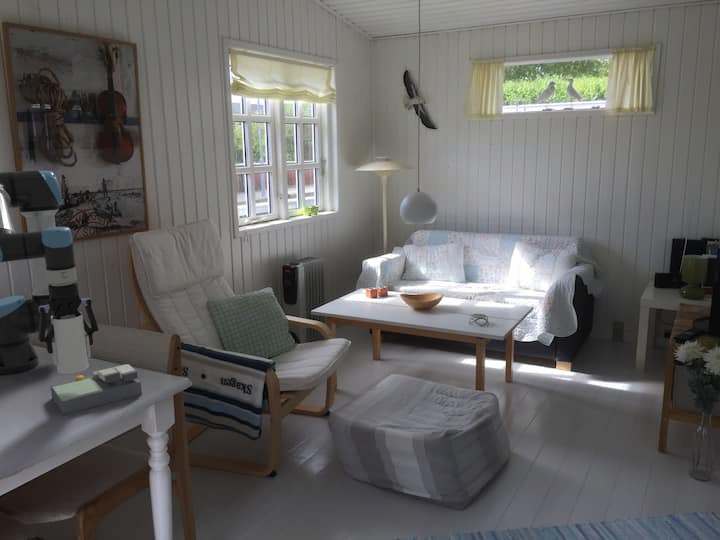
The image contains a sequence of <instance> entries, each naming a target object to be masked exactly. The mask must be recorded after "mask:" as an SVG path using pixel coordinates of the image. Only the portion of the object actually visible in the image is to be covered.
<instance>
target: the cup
mask: <svg viewBox="0 0 720 540" xmlns="http://www.w3.org/2000/svg"><path fill="white" fill-rule="evenodd" d="M79 313H80V314H81V315H80V316H78V317H75V315H74V314H73V315H66V316H61V318H60V320H58V319H52V318H53V316H51V324H53V326H54V337H53V341H54V342H55V345H56V353H57V361H58V364H57V365H56V369H57V370H56V371H57V373H58V374H62V375H72V374H73V375H74V374H78V373H81V372H84V371H86V370H87V369H88V368H89V358H88V356H87V348H86V339H85V333H86V331H85V330H84V322H83V319H84V316H83V313H82V312H81V311H79Z"/></svg>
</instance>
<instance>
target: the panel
mask: <svg viewBox="0 0 720 540" xmlns="http://www.w3.org/2000/svg"><path fill="white" fill-rule="evenodd" d="M109 368H110V367H108V368H104V369H103V368H102V370H105V369H109ZM111 368H113V369H114V370H116V371H117V372H119V373H120V378H121V380H117V381H112V382H108V383H106V382H105V381H103V380H102V379H100V378H99V374H98V371H100V370H101V369H98V370H94V371H92V372H91V373H92V375H90V376H87V377H85V376H84V375H81V374H80V375H77V376H75V379H73V380H69V381H65V382H61V383H56V384H52V385H50V393H51V399H52V400H53V402H54V403H55V404H56V406H57V408H58V409H59V410H60V411H61V413H62V414H63V415H67V414H71V413H76V412H79V411H83V410H87V409H90V408H95V407H99V406H102V405H106V404H109V403H114V402H118V401H121V400H125V399H129V398H133V397H136V396H140V395H142V394H143V391H142V384H141V383H142V382H141V381H140V379H139V378H138V371H137V370H136V369H135V368H133V367H132V365H130V364H127V363H126V364H121V365H117V366H113V367H111Z"/></svg>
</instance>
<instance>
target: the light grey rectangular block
mask: <svg viewBox="0 0 720 540" xmlns="http://www.w3.org/2000/svg"><path fill="white" fill-rule="evenodd" d="M108 368H109V369H107V368H104V369H105V370H103V369H99V370H100V371H99V370H97V371H98V374H99V378H100V379H102V380H103V381H105V382H106V383H108V382H112V381H117V380H121V378H120V373H119V372H117V371H116V370H114V369H113V368H112V367H108Z"/></svg>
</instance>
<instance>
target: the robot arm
mask: <svg viewBox="0 0 720 540" xmlns="http://www.w3.org/2000/svg"><path fill="white" fill-rule="evenodd" d="M62 204H63V197H62V192H61V188H60V185H59V182H58V179H57V176H56V175H55V173H54V172H53V171H51V170H39V169H37V170H24V171H22V170H21V171H20V170H19V171H4V172H3V171H2V172H0V264H1V263H7V262H8V263H9V262H15V261H16V262H17V261H23V260H31V264H32V271H33V272H32V273H33V279H34V284H35V288H34V289H33V291H32V292H31V293H30V294H31V298H30V299H26V298H25V296H24V295H13V296H11V295H10V296H7V297H2V298H0V375H13V374H18V373H21V372H22V373H23V372H25V371H28V370H31V369H33V368H35V367H37V366H38V365H39V364H40V359H39V358H40V357H39V354H38V353H37V351H36V349H35V347H34V345H33V344H32V341H31V335H32V334H38V335H37V339H38V341H39V342H40V343H46V351H47V353H48V354H51V358H52V363H53V365H55V366H57V364H58V361H57V353H56V345H55V342H54V340H53V337H54V326H53V324H51V316H53V318H52V319H58V320H60V318H61V316H66V315H73V314H74V315H75V317H78V316H80V315H81V314H80V313H79V312H80V311H79V310H78V309H79V307H80V305H81V304H82V306H83V307H84V308H85V312H86V315H87V317H88V321H89V324H90V326H89V325H88V323H87V322H86V321H85V319H84V318H83V322H84V331H85V339H86V348H87V356H88V359H89V358H92V354H91V347H90V346H92V345H93V344H94V338H93V335H94V333H96V332H98V331H99V326H98V323H97V321H96V320H97V319H96V316H95V314H94V311H93V308H92V304H93V302H92V299H91V298H89V297H86V298H81V297H80V292H79V285H78V282H77V280H78V277H77V269H76V261H75V260H76V259H75V251H74V238H73V235H72V234H73V233H72V230H71V228H69V227H68V226H56V219H55V215H56V214H57V213H58V211H59V206H61V205H62ZM11 208H12V209H14V208H18V210H19V214H21V215H22V216H23V217H24V218H25V223H26V228H27V232H20V233H16V229H15V225H14V222H13V218H12V214H11V210H10V209H11ZM46 332H47V333H46Z"/></svg>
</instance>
